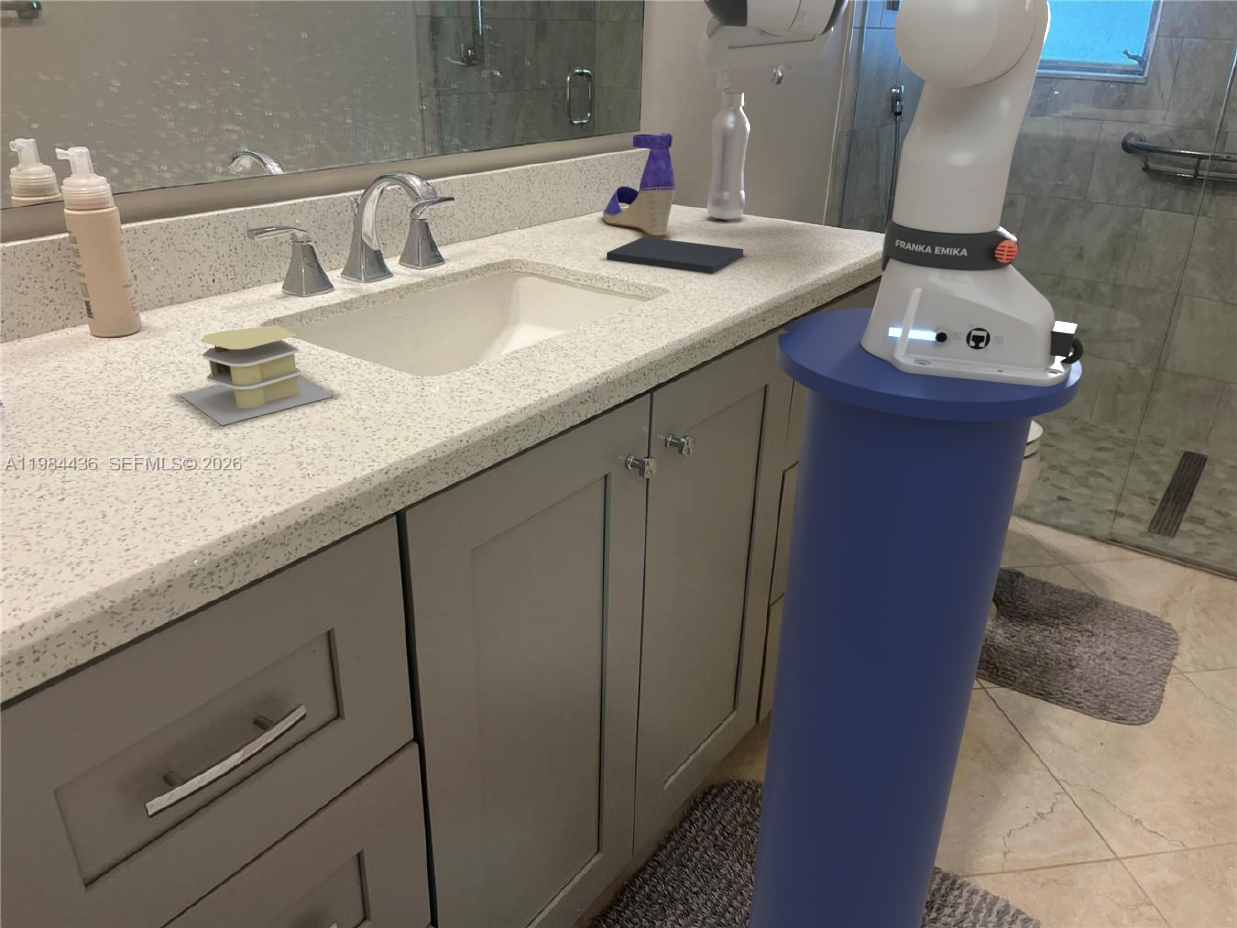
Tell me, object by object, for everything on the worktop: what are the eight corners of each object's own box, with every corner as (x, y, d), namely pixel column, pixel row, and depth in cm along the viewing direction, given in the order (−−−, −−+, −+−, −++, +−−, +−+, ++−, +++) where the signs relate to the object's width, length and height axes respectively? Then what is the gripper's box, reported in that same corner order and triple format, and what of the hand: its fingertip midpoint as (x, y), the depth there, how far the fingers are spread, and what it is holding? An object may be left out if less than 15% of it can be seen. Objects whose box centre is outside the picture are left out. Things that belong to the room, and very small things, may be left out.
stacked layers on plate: (287, 370, 91) (279, 315, 88) (332, 397, 85) (325, 337, 82) (180, 395, 84) (169, 336, 82) (222, 425, 79) (211, 362, 76)
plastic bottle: (747, 217, 163) (756, 92, 155) (739, 224, 157) (748, 95, 149) (710, 214, 165) (717, 90, 156) (701, 221, 159) (708, 93, 151)
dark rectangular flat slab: (743, 255, 137) (743, 249, 137) (712, 273, 127) (713, 266, 127) (643, 243, 143) (643, 236, 143) (606, 259, 134) (606, 252, 133)
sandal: (642, 214, 163) (645, 122, 157) (679, 239, 146) (683, 137, 140) (596, 216, 162) (597, 123, 155) (628, 241, 144) (630, 137, 138)
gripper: (721, 25, 130) (696, 106, 142) (848, 14, 136) (814, 92, 148) (704, -5, 132) (680, 76, 144) (829, -15, 139) (797, 64, 151)
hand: (749, 84), depth 146 cm, fingers open, 8 cm apart
